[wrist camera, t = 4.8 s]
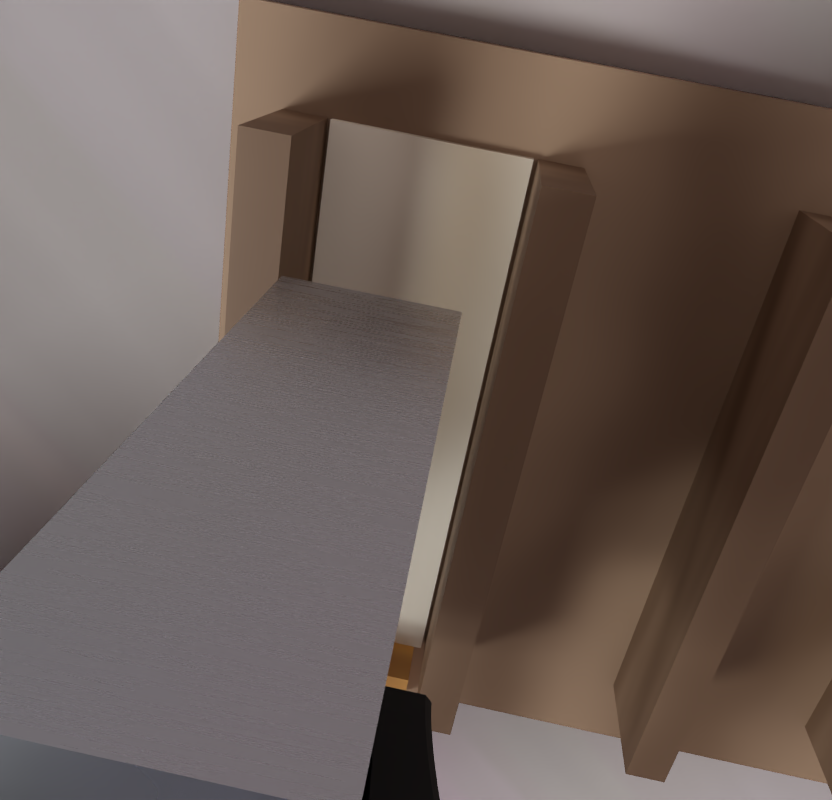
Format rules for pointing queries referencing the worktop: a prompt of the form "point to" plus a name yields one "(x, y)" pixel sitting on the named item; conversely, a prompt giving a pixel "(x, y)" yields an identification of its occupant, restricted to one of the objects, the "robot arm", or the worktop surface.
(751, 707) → the slot rack
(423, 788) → the robot arm
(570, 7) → the worktop surface
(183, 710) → the grey brushed metal block
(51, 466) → the worktop surface
